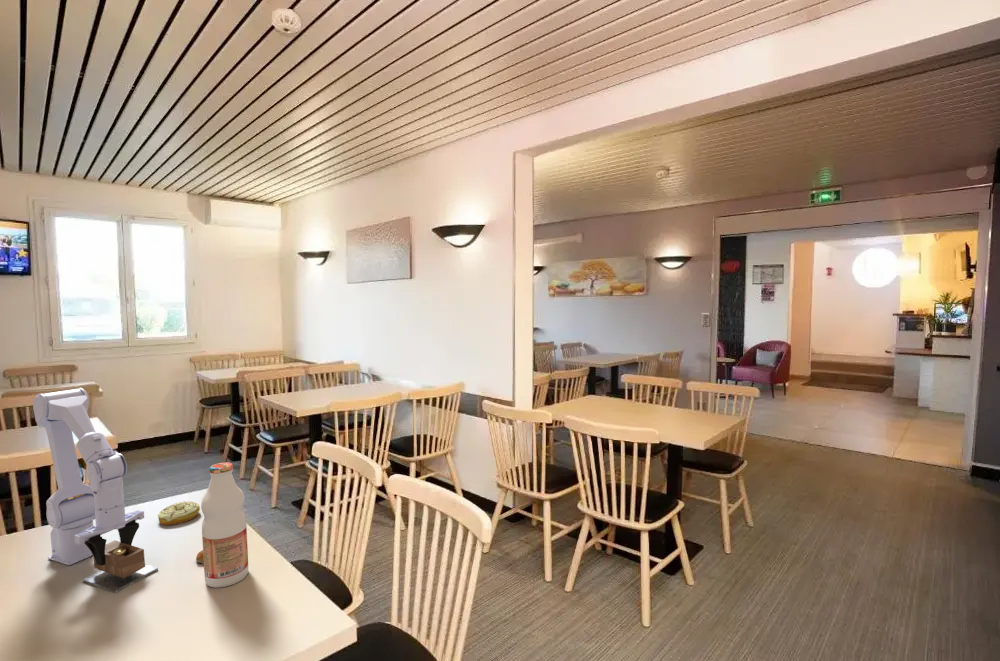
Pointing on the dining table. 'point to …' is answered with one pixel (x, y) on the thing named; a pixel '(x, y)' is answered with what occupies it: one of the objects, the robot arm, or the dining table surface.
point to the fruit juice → (224, 529)
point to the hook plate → (115, 582)
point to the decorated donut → (178, 513)
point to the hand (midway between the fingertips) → (113, 558)
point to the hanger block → (122, 560)
